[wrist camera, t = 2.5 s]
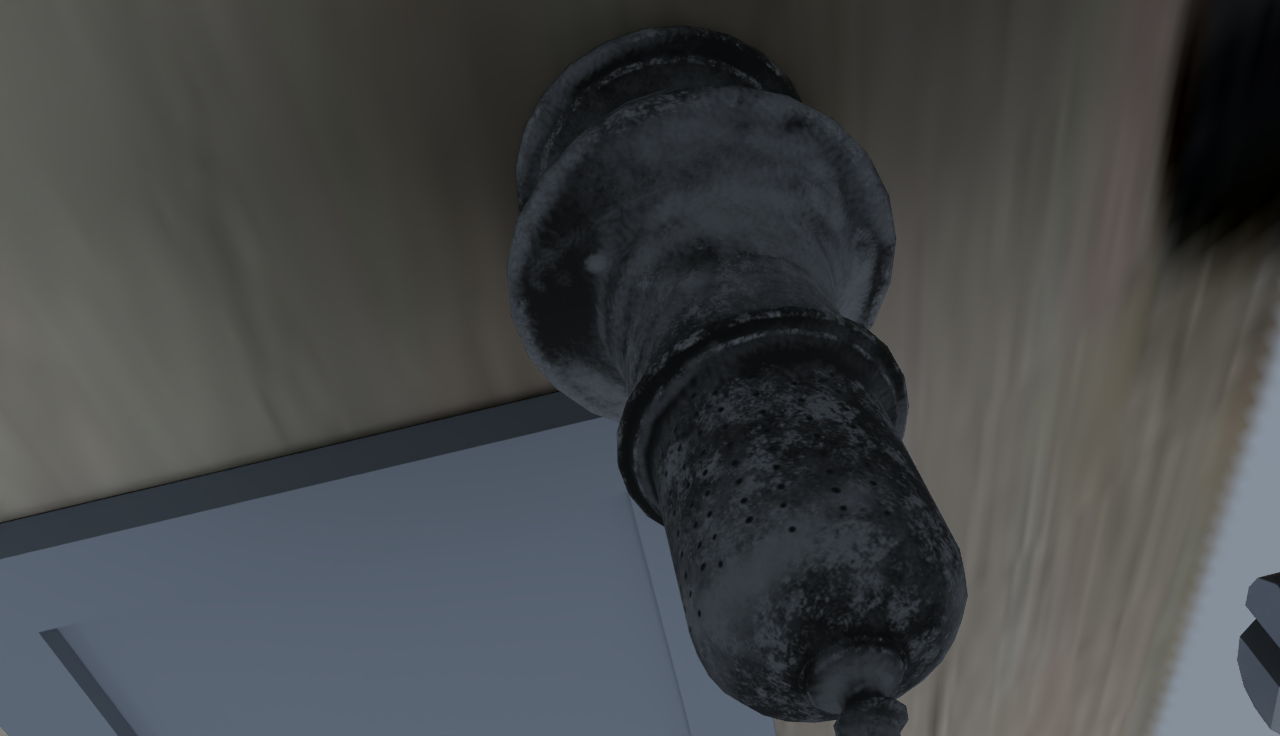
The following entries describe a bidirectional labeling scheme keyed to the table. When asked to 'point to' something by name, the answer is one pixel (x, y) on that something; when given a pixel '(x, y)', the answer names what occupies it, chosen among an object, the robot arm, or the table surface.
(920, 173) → the table surface
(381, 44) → the table surface
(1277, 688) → the robot arm
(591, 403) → the dark grey turned piece
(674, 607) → the slate tray
